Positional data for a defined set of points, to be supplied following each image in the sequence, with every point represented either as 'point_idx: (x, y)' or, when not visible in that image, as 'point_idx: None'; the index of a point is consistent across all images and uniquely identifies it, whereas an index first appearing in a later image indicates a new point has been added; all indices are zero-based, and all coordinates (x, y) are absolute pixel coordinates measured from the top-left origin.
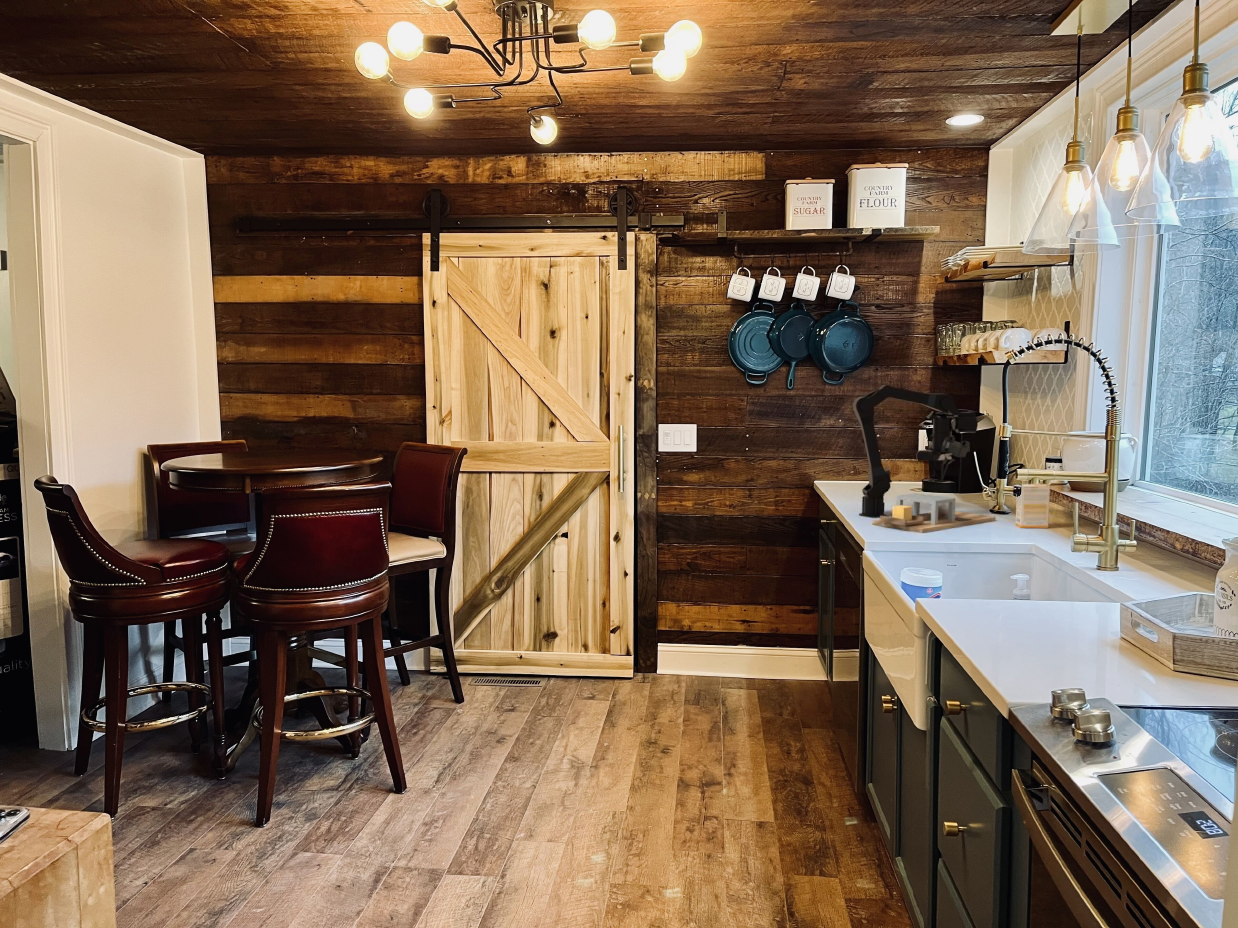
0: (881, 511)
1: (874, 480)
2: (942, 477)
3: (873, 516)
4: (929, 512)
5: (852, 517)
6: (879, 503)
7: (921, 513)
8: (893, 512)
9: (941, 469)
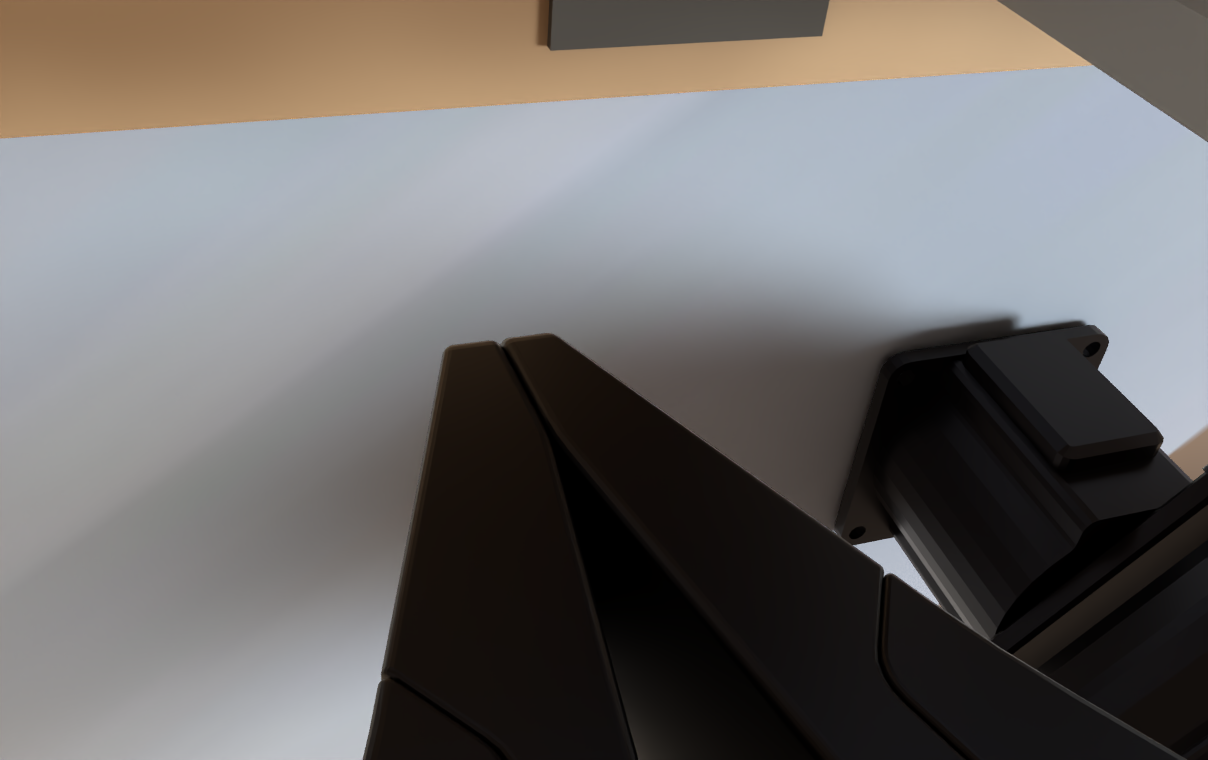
0: (1054, 363)
1: None
2: (529, 397)
3: (1105, 338)
4: (412, 97)
5: (1168, 432)
6: (1158, 435)
7: (638, 95)
8: None
9: (959, 630)
